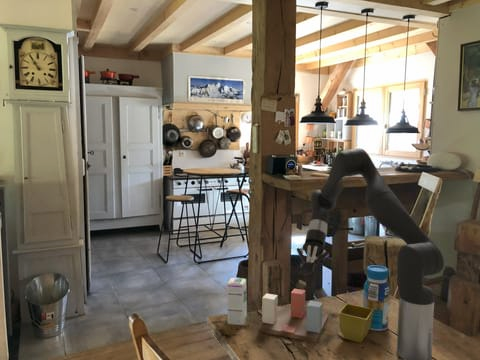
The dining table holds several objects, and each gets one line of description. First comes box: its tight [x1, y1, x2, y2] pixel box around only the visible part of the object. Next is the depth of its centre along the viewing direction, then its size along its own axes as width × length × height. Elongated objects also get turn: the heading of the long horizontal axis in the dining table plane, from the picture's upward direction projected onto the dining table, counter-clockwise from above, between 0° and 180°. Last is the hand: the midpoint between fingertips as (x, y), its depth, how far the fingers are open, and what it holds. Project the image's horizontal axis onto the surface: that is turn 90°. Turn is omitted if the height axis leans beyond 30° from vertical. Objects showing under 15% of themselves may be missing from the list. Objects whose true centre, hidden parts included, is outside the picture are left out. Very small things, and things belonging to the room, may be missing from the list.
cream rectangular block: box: [261, 292, 279, 324], centre depth 138 cm, size 4×4×8 cm
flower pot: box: [338, 303, 373, 344], centre depth 131 cm, size 9×9×9 cm
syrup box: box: [226, 277, 248, 326], centre depth 142 cm, size 6×6×14 cm
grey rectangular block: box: [306, 300, 323, 333], centre depth 132 cm, size 4×4×8 cm
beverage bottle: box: [362, 264, 391, 332], centre depth 138 cm, size 8×8×20 cm
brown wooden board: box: [258, 305, 329, 344], centre depth 140 cm, size 19×18×2 cm
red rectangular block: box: [290, 288, 306, 318], centre depth 143 cm, size 4×4×8 cm
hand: (308, 273), depth 154 cm, fingers closed
